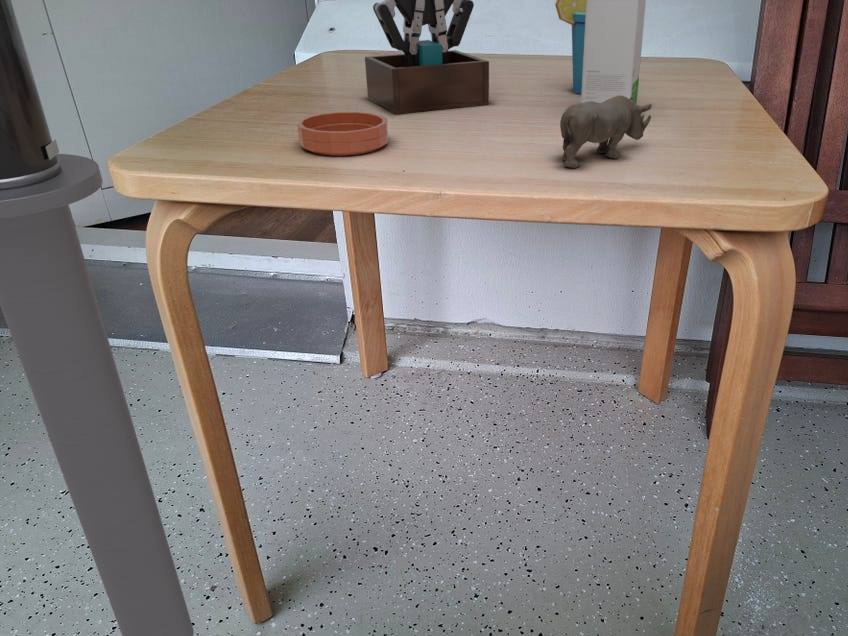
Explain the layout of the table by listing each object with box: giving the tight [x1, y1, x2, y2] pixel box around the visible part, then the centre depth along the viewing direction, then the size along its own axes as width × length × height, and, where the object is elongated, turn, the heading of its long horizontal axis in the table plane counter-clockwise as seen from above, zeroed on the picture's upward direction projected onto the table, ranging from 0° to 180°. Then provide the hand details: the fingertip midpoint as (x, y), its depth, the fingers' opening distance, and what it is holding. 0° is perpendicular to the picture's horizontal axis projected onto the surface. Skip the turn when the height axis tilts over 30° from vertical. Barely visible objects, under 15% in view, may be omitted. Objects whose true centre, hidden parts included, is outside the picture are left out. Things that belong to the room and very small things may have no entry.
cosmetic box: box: [580, 0, 647, 105], centre depth 92 cm, size 8×7×16 cm
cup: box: [555, 0, 586, 95], centre depth 105 cm, size 14×8×15 cm, turn 119°
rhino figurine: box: [559, 95, 653, 169], centre depth 78 cm, size 4×14×6 cm, turn 129°
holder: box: [364, 49, 490, 115], centre depth 101 cm, size 14×11×6 cm
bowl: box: [296, 111, 389, 157], centre depth 82 cm, size 10×10×3 cm
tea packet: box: [417, 39, 442, 66], centre depth 100 cm, size 4×3×7 cm, turn 26°
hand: (426, 81), depth 101 cm, fingers closed on tea packet, 2 cm apart
